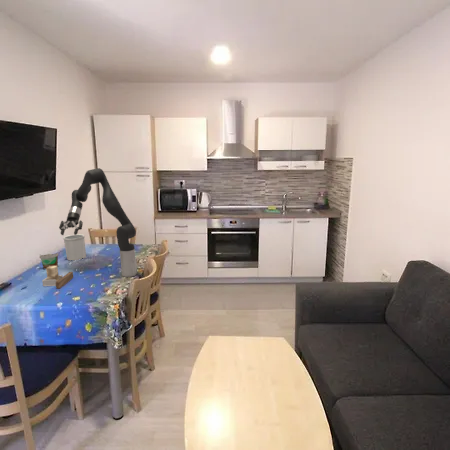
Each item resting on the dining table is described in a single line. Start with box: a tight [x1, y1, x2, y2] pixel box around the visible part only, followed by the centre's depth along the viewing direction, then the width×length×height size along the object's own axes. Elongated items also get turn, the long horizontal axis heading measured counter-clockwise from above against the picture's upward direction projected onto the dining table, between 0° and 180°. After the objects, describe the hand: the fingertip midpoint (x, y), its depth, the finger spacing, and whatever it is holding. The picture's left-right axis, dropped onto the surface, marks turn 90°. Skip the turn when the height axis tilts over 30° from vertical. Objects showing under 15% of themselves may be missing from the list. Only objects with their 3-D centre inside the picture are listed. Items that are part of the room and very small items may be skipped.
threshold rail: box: [55, 271, 74, 290], centre depth 198 cm, size 2×18×4 cm, turn 1°
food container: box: [39, 252, 59, 270], centre depth 227 cm, size 12×6×10 cm, turn 105°
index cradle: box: [41, 274, 63, 287], centre depth 198 cm, size 8×8×4 cm
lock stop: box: [45, 266, 60, 281], centre depth 197 cm, size 4×4×10 cm
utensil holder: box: [62, 233, 87, 261], centre depth 248 cm, size 15×15×18 cm
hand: (68, 234), depth 211 cm, fingers open, 8 cm apart
